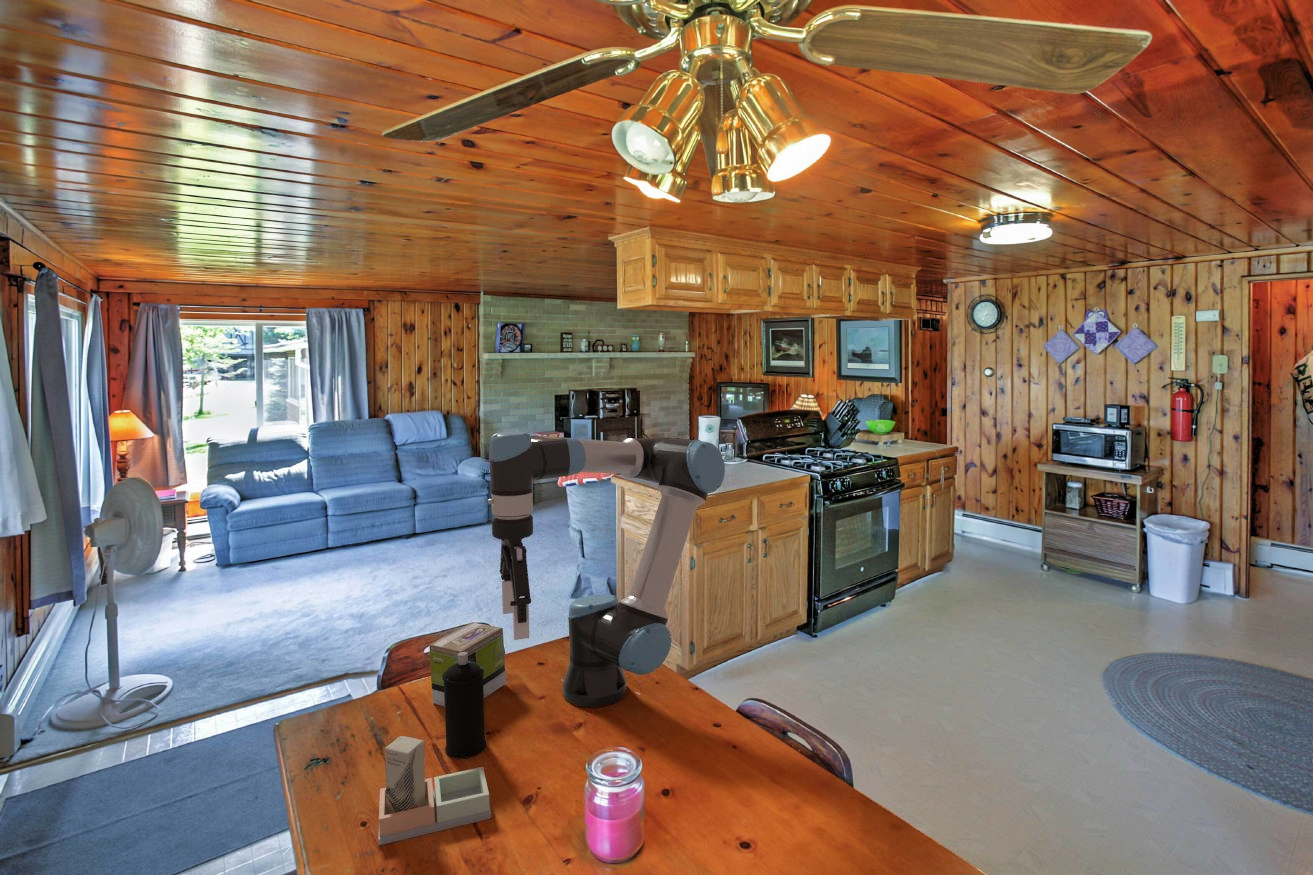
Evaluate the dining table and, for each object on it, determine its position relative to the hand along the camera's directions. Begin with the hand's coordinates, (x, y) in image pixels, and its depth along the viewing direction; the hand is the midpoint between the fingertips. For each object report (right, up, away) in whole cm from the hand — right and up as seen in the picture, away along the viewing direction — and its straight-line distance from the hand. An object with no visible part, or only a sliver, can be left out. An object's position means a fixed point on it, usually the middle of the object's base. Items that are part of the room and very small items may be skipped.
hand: (515, 625), depth 127 cm
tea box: (-18, -26, +32) cm, 45 cm away
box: (-16, -29, -12) cm, 36 cm away
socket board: (-12, -30, -10) cm, 34 cm away
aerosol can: (-12, -28, +10) cm, 32 cm away
